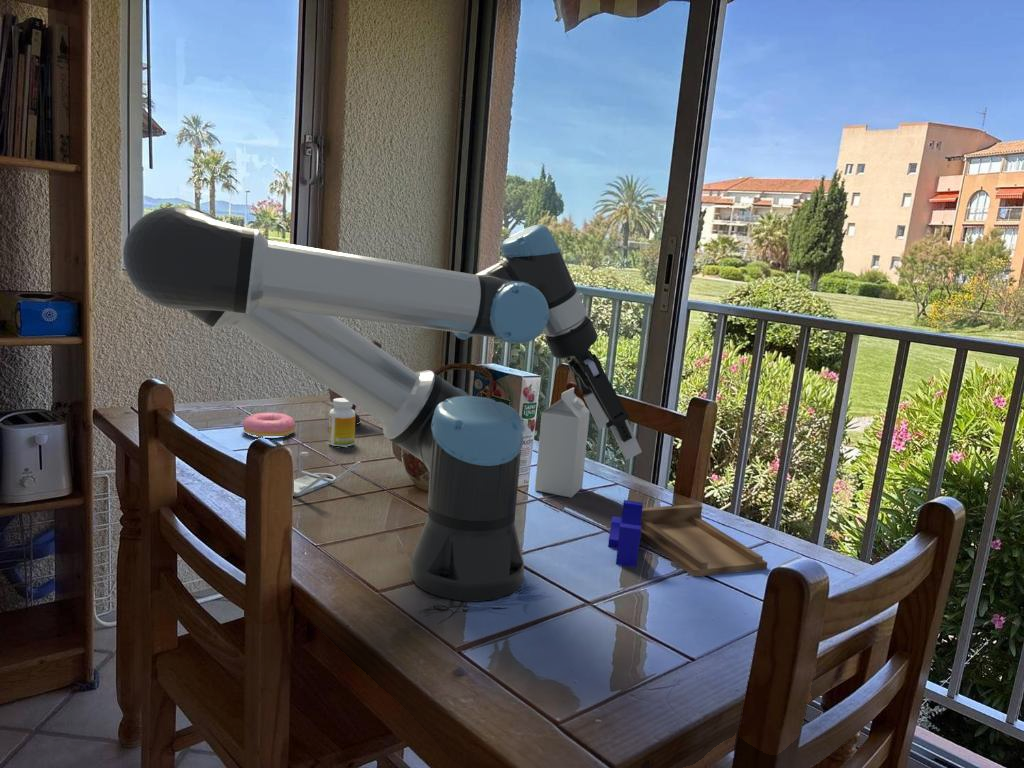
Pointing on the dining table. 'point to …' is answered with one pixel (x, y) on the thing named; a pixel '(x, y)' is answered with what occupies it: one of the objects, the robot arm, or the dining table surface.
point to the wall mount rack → (315, 478)
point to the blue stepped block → (627, 533)
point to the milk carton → (562, 446)
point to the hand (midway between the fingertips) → (619, 439)
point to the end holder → (695, 542)
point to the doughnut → (269, 424)
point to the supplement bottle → (341, 423)
